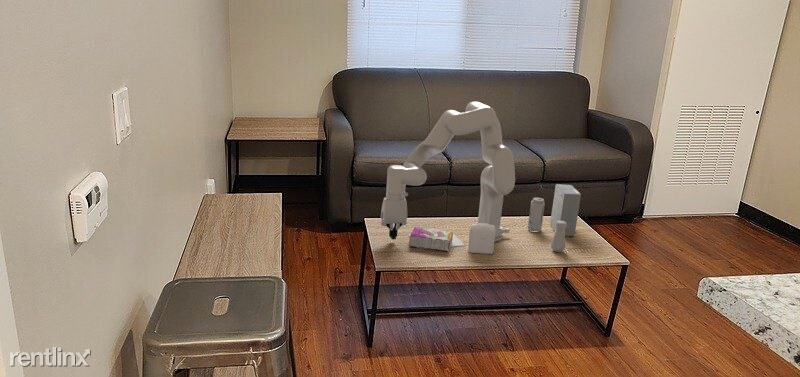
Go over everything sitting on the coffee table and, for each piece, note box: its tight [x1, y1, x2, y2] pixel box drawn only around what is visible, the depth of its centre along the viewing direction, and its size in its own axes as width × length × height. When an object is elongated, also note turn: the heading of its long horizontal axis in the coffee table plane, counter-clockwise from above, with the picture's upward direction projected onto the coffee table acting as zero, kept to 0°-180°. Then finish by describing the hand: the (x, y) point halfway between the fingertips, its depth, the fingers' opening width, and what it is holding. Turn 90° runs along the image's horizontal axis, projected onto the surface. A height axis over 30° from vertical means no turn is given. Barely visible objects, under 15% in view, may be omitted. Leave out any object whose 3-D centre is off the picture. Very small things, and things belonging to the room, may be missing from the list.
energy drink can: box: [527, 196, 546, 232], centre depth 255 cm, size 6×6×15 cm
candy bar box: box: [408, 226, 454, 252], centre depth 233 cm, size 11×5×16 cm
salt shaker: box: [550, 221, 567, 253], centre depth 234 cm, size 6×6×13 cm
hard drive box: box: [549, 183, 582, 237], centre depth 256 cm, size 16×8×20 cm, turn 179°
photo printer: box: [467, 222, 495, 255], centre depth 228 cm, size 10×4×12 cm, turn 87°
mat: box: [407, 233, 466, 250], centre depth 239 cm, size 20×15×1 cm
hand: (393, 238), depth 234 cm, fingers closed
